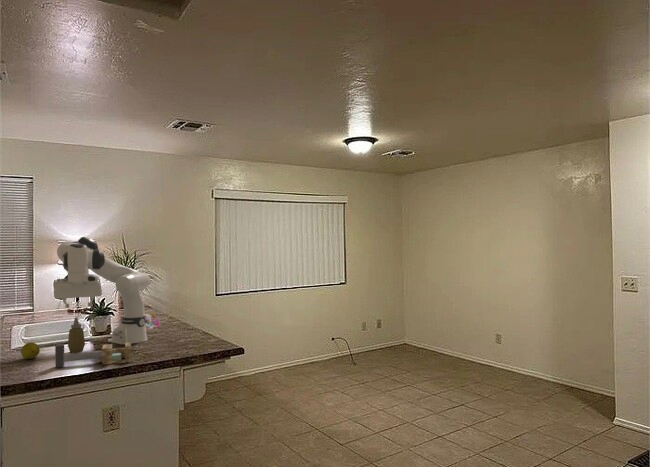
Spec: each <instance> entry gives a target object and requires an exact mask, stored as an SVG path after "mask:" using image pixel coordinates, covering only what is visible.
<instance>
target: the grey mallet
mask: <svg viewBox="0 0 650 467" xmlns="http://www.w3.org/2000/svg"><path fill="white" fill-rule="evenodd" d="M54 351H55V353H54V354H55V362H54V363H55V369H61V368H64V366H65V363H68V362H76V361H87V360H98V359H102V349H101V350H91V351H82V352H79V353H65V343H57V344H55V347H54Z"/></svg>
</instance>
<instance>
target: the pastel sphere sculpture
mask: <svg viewBox="0 0 650 467" xmlns="http://www.w3.org/2000/svg"><path fill="white" fill-rule="evenodd" d="M144 315H145V328H146V331H149V330H150V331H151V330H152V329H156V328H158V327H160V326H161V321H160V316H158V315H157V314H155V313H154V312H150V313H149V314H147V313H144Z"/></svg>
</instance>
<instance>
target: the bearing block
mask: <svg viewBox="0 0 650 467" xmlns="http://www.w3.org/2000/svg"><path fill="white" fill-rule="evenodd" d="M124 345H125V347H119V348H113V343H109V344H106V343H105V344H103V345H102V348H101V350H102V358H101V359H102V360H101V361H102V364H105V365H113V364H112V363H115V364H122V363H130V362H132V343H131V342H128V343H125V344H124ZM112 353H121V360H115V361H112ZM122 358H124V359H122ZM102 364H101V365H102Z"/></svg>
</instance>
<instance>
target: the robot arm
mask: <svg viewBox="0 0 650 467" xmlns="http://www.w3.org/2000/svg"><path fill="white" fill-rule="evenodd" d="M56 254H57V257H58V258H59V260H60V261H61V262H62V267H63V269H64V270H65V271H66V272H67V278H57V279H55V280H54V281H53V283H52V284H53V285H52V286H53V288H54V290H53V298H54V299H55V300H57V299H58V300H59V299H62V302H63V304H64V305H65V309H69V308H70V303H68V302H67V299H75V298H78V299H79V298H90V301H89V302H87V306H88V307H92V305H93V304H92V303H93V301H94V299H95V297H97V298H98V297H102V295H103V289H102V284H101V282H100V281H99V280H100V277H102V279H104V280H107V281H108V282H110V283H113V284H115V288H116V290H117V292H118V293H119V294H120V297H121V300H122V306H123V317H121V318H120V319H119V320H120V321H121V323H120V324H119V325H118V326H117V327H116V328H115V329H113V330H112V334H111V338H108V339H107V343H111V344H118V345H125V343H128V342H131V344H138V343H139V344H140V343H143V342H147V341H148V340H149V339H148V336H147V330H146V328H145V315H146V314H145V302H144V300H143V299H142V297H141V294H140V293H141V292H142V291H144V290H146V289H147V288H149V287H150V286H151V285H150V284H151V277H150V276H149V275H148V273H144V272H142V271H138V270H136V269H133V268H130V267H128V266H124V265H122V264H120V263H118V262H116V261H114V260H112V259H111V258H109V257H106V256H105V253H104V252H103V250H101V249H100V248H99V246H98V243H97V242H96V241H95V240H94V239H93V238H90V237H85V236H82V237H80V238H79V239H78V240H77V242H76V243H75V242H73V241H64V242H62V243H60V244H59V245H58V247H57V250H56ZM89 270H90V271H92V272H93V273H94V274H92V273H91V274H90V273H89V272H90V271H89ZM144 314H145V315H144Z"/></svg>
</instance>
